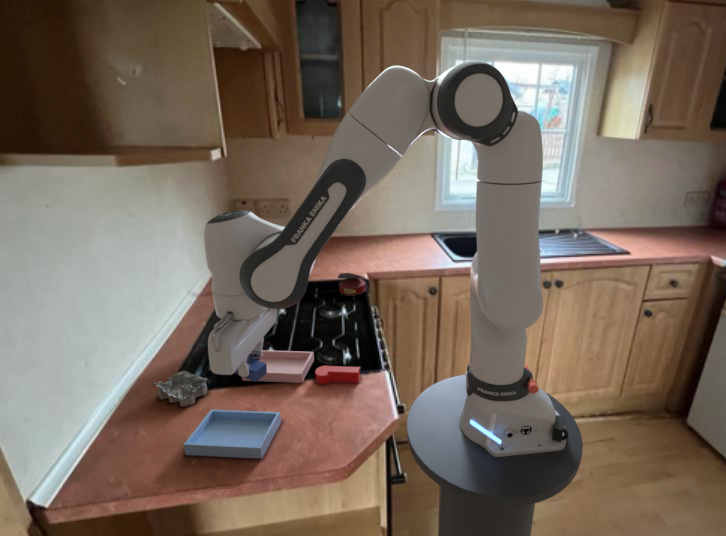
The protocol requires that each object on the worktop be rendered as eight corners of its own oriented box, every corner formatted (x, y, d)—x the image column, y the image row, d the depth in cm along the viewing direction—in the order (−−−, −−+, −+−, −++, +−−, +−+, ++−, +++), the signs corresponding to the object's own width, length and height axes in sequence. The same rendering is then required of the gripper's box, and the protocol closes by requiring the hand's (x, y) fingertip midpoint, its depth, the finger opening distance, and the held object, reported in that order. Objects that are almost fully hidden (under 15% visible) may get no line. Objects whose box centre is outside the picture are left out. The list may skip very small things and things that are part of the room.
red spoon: (361, 374, 104) (360, 364, 103) (357, 385, 100) (357, 375, 99) (318, 373, 105) (317, 363, 104) (313, 383, 101) (312, 373, 100)
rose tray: (314, 360, 111) (313, 351, 110) (302, 383, 101) (301, 374, 100) (259, 358, 112) (258, 349, 111) (242, 380, 102) (240, 371, 101)
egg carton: (154, 397, 96) (150, 383, 95) (183, 380, 102) (179, 366, 101) (185, 410, 92) (181, 395, 90) (213, 391, 98) (210, 376, 97)
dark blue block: (255, 386, 78) (267, 377, 80) (255, 367, 76) (266, 359, 78) (211, 367, 81) (223, 359, 84) (209, 349, 79) (222, 341, 82)
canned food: (339, 302, 155) (328, 279, 154) (359, 292, 162) (348, 269, 161) (355, 297, 147) (343, 272, 146) (375, 286, 154) (363, 262, 153)
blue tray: (281, 421, 88) (280, 412, 87) (262, 458, 79) (260, 448, 78) (213, 418, 89) (211, 409, 88) (185, 455, 80) (183, 444, 79)
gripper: (230, 329, 64) (242, 402, 69) (279, 280, 83) (286, 340, 88) (191, 328, 64) (206, 400, 69) (249, 279, 83) (257, 339, 88)
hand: (251, 366), depth 79 cm, fingers closed on dark blue block, 4 cm apart
